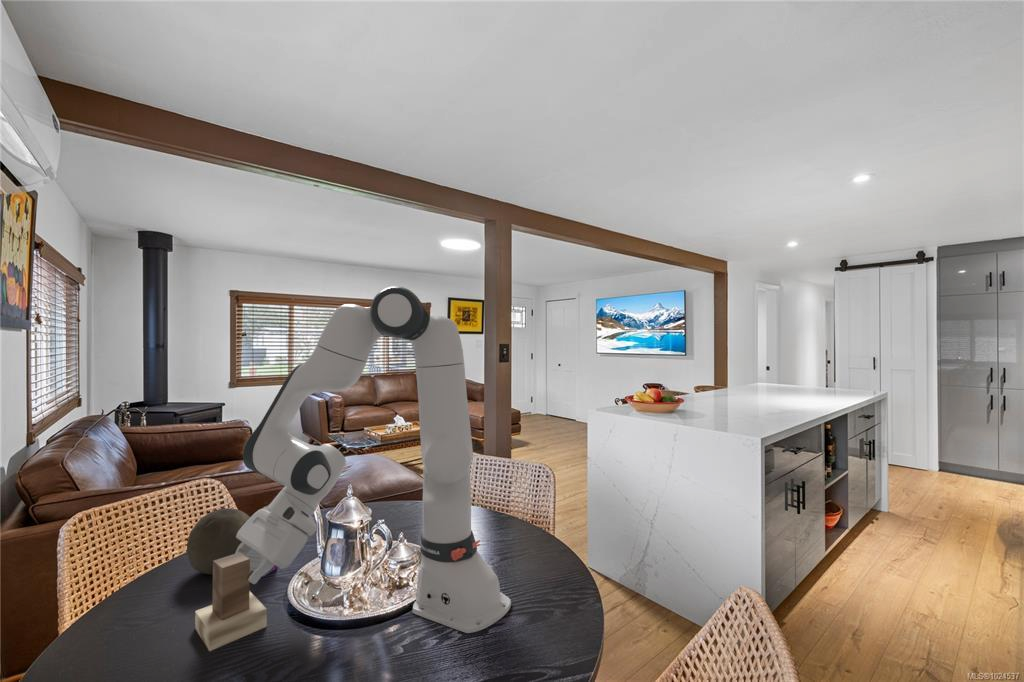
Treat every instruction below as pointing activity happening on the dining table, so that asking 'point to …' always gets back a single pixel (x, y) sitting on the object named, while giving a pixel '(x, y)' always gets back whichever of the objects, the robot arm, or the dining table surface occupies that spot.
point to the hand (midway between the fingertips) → (240, 574)
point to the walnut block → (230, 585)
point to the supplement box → (256, 561)
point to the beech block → (229, 624)
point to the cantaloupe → (214, 538)
